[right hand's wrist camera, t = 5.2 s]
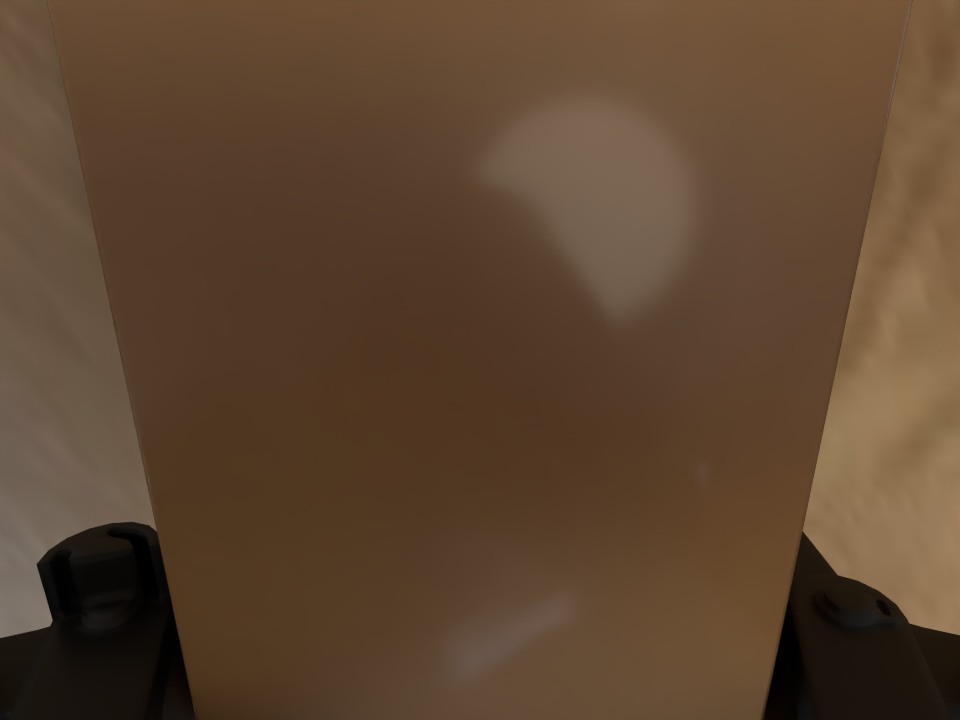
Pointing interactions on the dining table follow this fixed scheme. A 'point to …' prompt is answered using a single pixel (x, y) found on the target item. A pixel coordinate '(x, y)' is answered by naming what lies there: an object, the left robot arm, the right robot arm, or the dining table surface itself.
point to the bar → (479, 334)
